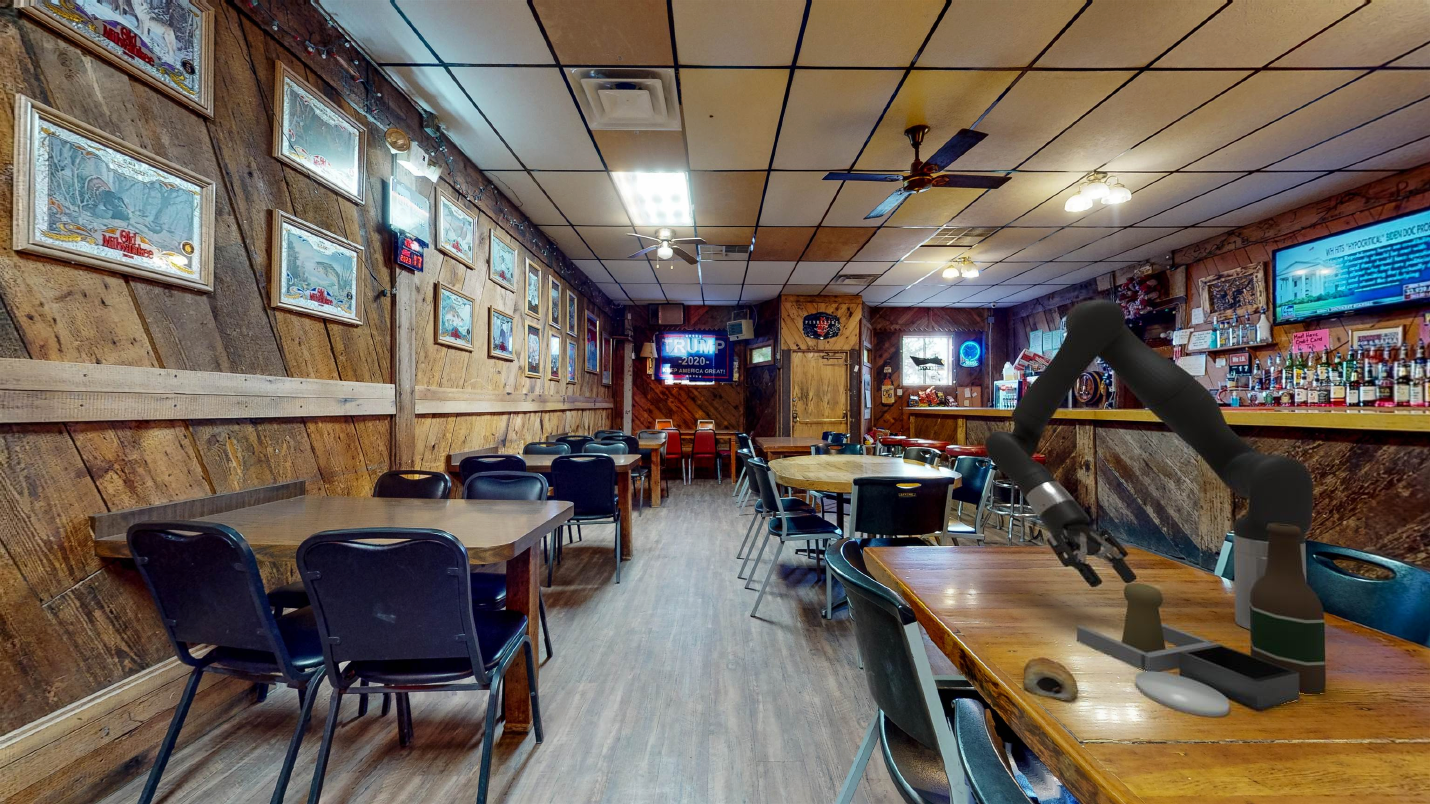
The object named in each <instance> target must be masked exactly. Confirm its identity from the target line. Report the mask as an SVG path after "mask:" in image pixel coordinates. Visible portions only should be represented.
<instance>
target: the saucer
mask: <svg viewBox="0 0 1430 804" xmlns="http://www.w3.org/2000/svg"><path fill="white" fill-rule="evenodd" d="M1136 686H1137V687H1136ZM1135 687H1136V689H1137V688H1138V689H1139V690H1140V691H1141V692H1142V693H1143V695H1144V694H1145V695H1146V696H1145V695H1144V696H1145V697H1147V696H1148V697H1149V699H1150V700H1152V701H1153V702H1156V703H1158V704H1160V705H1163V706H1165V707H1167V708H1169V709H1173V710H1176V711H1179V712H1182V713H1185V714H1186V713H1187V714H1191V715H1195V716H1200V717H1208V718H1218V717H1219V718H1221V717H1224V716H1227V715H1228V714H1229V713H1230V701H1229V699H1228V698H1226V697H1225V696H1224V695H1223V694H1221V693H1220V692H1218V691H1217V690H1215V689H1213V688H1211V687H1209V686H1207V685H1205V684H1203V683H1200V682H1198V681H1195V680H1192V679H1189V678H1186V677H1182V676H1180V675H1177V674H1174V673H1169V672H1163V671H1159V672H1154V671H1147V672H1146V671H1140V672H1139V673H1137V674H1136V675H1135ZM1138 689H1137V690H1138ZM1139 690H1138V691H1139ZM1140 691H1139V692H1140ZM1141 692H1140V693H1141ZM1142 693H1141V694H1142ZM1148 697H1147V698H1148Z"/></svg>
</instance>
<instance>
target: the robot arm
mask: <svg viewBox="0 0 1430 804" xmlns="http://www.w3.org/2000/svg"><path fill="white" fill-rule="evenodd" d="M1064 321H1065V322H1064V326H1065V330H1066V332H1067V333H1066V335H1065V337H1064V339H1063V341H1062V343H1061V345H1060V347H1059V349H1058V350H1057V352H1056V354H1055V355H1054V357H1053V358H1052V359H1051V361H1049V363H1048V364H1047V366H1045V368H1044V369H1043V371H1041V373H1040V374H1039V375H1038V376H1037V377H1036V378H1035V379H1034V381H1033V382H1032V383H1031V384H1030V385H1029V387H1028V388H1027V390H1026V391H1025V393H1024V394H1023V395H1022V396H1021V398H1020V399H1019V401H1018V403H1017V404H1016V406H1015V407H1014V409H1013V411H1012V413H1011V419H1012V421H1013V422H1014V423H1015V425H1014V428H1013V430H1012V432H1007V431H1002V430H1001V431H1000V430H999V431H996V432H992V433H991V434H990V435H988V437H986V440H985V444H984V449H985V452H986V455H987V456H988V458H989V460H990V461H991V462H992V463H993V464H994V465H995V466H996V467H997V469H999V470H1000V471H1001V472H1002V473H1003V474H1004V475H1005V476H1006V477H1007V478H1009V480H1010V481H1012V482H1013V483H1014V485H1015V486H1016V487H1017V489H1018V490H1019V492H1021V495H1023V497H1024V498H1025V499H1026V501H1027V503H1028V504H1029V506H1030V508H1031V509H1032V511H1033V512H1034V514H1035V515H1036V517H1038V519H1039V520H1040V522H1041V523H1042V524H1043V526H1044V527H1045V528H1046V530H1048V532H1049V534H1050V536H1049V537H1048V538H1047V539H1046V542H1047V544H1048V545H1049V547H1050V548H1051V549H1052V551H1053V553H1054V554H1055V555H1056V557H1057V558H1058V560H1059V561H1060V562H1061V565H1063V566H1064V567H1065V568H1068V567H1071V568H1073V569H1074V570H1076V571H1078V572H1079V574H1080V576H1082V578H1083V579H1084V581H1085V582H1086V583H1087V584H1088V585H1089V586H1090V588H1097V587H1099V586H1100V585H1102V584H1103V580H1102V579H1101V578H1100V576H1099V575H1098V574H1097V572H1096V571H1095V569H1094V568H1093V567H1092V565H1091V564H1090V563H1087V556H1090V557H1091V556H1094V557H1095V558H1096V559H1100V560H1101V559H1102V560H1104V561H1105V562H1107V563H1108V564H1110V565H1111V567H1112V568H1113V570H1114V571H1115V572H1116V573H1117V574H1118V576H1119V577H1120V578H1121V580H1122V581H1123V582H1124V583H1125V584H1131V583H1132V582H1133V583H1134V581H1136V580H1137V579H1138V578H1137V576H1136V574H1135V572H1134V571H1133V570H1132V569H1131V567H1129V565H1128V564H1127V563H1126V562H1125V560H1124V559H1125V558H1126V557H1127V556H1129V552H1128V551H1127V550H1126V549H1125V548H1124V547H1123V545H1121V543H1120V542H1119V541H1118V539H1116V537H1115V536H1113V534H1112V533H1111V532H1110V531H1109V530H1108V529H1106V528H1103V529H1101V530H1099V531H1097V530H1094V529H1093V528H1092V527H1091V526H1090V521H1091V518H1090V516H1089V515H1088V514H1087V513H1086V512H1085V511H1084V509H1083V508H1082V507H1081V505H1080V504H1079V503H1078V502H1077V501H1076V500H1075V498H1074V497H1073V496H1072V495H1071V494H1070V493H1069V492H1068V491H1069V490H1067V489H1066V488H1065V487H1064V486H1062V485H1061V483H1059V481H1058V480H1057V479H1056V478H1055V476H1054V475H1053V474H1052V473H1051V472H1050V470H1049V469H1048V468H1046V466H1044V465H1043V464H1042V463H1041V462H1038V461H1036V460H1034V459H1033V458H1034V455H1035V454H1036V452H1037V450H1038V448H1039V444H1040V443H1041V439H1042V436H1043V433H1044V430H1045V427H1046V426H1047V425H1048V424H1049V422H1050V421H1051V419H1053V416H1054V415H1055V414H1056V412H1057V411H1058V410H1059V408H1060V407H1061V405H1062V403H1063V402H1064V400H1065V399H1066V397H1067V396H1068V395H1069V394H1070V391H1071V390H1072V388H1073V387H1074V386H1075V384H1076V383H1077V381H1078V380H1079V379H1080V378H1081V376H1082V375H1083V373H1085V372H1086V370H1087V369H1088V368H1089V366H1090V365H1091V364H1092V363H1094V361H1095V360H1096V359H1097V358H1099V359H1100V360H1101V361H1102V362H1104V363H1105V364H1106V365H1107V366H1108V367H1109V368H1110V369H1111V370H1112V371H1113V372H1114V373H1115V375H1116V376H1117V377H1118V378H1119V379H1120V380H1121V382H1122V383H1123V384H1124V385H1125V386H1126V387H1127V388H1128V389H1129V390H1130V392H1131V393H1133V395H1134V396H1135V397H1136V398H1137V399H1138V400H1139V401H1140V402H1141V403H1142V404H1143V405H1144V406H1145V407H1146V408H1147V409H1148V410H1149V411H1150V412H1151V413H1153V414H1154V416H1155V417H1157V418H1158V419H1159V420H1160V421H1161V422H1162V423H1164V424H1165V425H1166V426H1167V427H1168V428H1169V429H1170V430H1172V432H1174V433H1175V434H1176V435H1177V436H1178V437H1179V438H1180V439H1181V440H1182V441H1184V442H1185V443H1186V444H1187V445H1188V446H1190V447H1191V448H1192V449H1193V450H1194V451H1195V452H1196V453H1197V454H1198V455H1199V456H1200V457H1201V458H1202V459H1203V461H1204V462H1205V463H1206V464H1207V466H1209V467H1210V469H1212V471H1213V472H1214V474H1215V475H1216V476H1217V477H1218V478H1219V480H1221V482H1222V483H1223V484H1224V485H1225V486H1226V487H1227V488H1228V489H1229V490H1230V491H1232V492H1233V493H1234V494H1236V495H1238V496H1240V497H1242V498H1245V499H1248V508H1247V509H1248V510H1247V513H1246V514H1245V516H1244V517H1241V518H1237V519H1235V520H1234V522H1233V551H1234V552H1233V554H1234V555H1233V559H1234V560H1233V561H1234V562H1233V563H1234V565H1233V566H1234V567H1233V568H1234V570H1233V571H1234V618H1235V619H1234V620H1235V623H1236V624H1237V625H1239V626H1241V627H1243V628H1245V629H1247V630H1249V631H1250V593H1251V589H1252V587H1253V585H1254V584H1255V582H1256V581H1257V580H1258V579H1259V578H1260V577H1261V576H1263V575H1264V574H1265V570H1266V566H1267V555H1268V540H1269V531H1267V530H1266V528H1267V526H1268V524H1271V523H1279V524H1288V525H1294V526H1297V527H1299V528H1300V530H1301V532H1302V535H1301V536H1299V538H1300V547H1301V557H1302V566H1303V573H1304V576H1305V580H1306V581H1307V558H1306V556H1307V555H1306V553H1307V552H1306V535H1307V533H1309V531H1310V528H1311V526H1312V522H1313V509H1314V508H1313V507H1314V482H1313V477H1312V475H1311V472H1310V470H1309V468H1308V467H1307V466H1306V465H1305V464H1304V463H1303V462H1301V461H1299V460H1298V459H1295V458H1293V457H1289V456H1285V455H1278V454H1276V455H1275V454H1267V453H1262V452H1259V451H1258V450H1256V449H1255V448H1254V447H1252V446H1251V445H1250V444H1249V443H1247V442H1246V441H1245V440H1243V438H1241V437H1240V436H1239V435H1238V434H1237V433H1235V432H1234V431H1233V429H1232V428H1231V427H1230V426H1229V425H1228V423H1227V421H1226V419H1225V417H1224V414H1223V411H1222V409H1221V407H1220V405H1219V403H1218V401H1217V399H1216V398H1215V396H1214V395H1213V394H1212V393H1211V392H1210V391H1209V390H1208V389H1207V388H1206V387H1205V386H1204V385H1202V383H1200V381H1198V380H1197V379H1196V378H1195V377H1194V376H1193V375H1192V374H1190V373H1189V372H1188V371H1187V370H1185V369H1184V368H1183V367H1182V366H1179V364H1177V363H1176V362H1174V361H1173V360H1171V359H1169V358H1168V357H1166V356H1165V355H1163V354H1161V353H1160V352H1158V351H1156V350H1155V349H1153V348H1151V347H1150V346H1149V345H1147V344H1146V343H1144V342H1143V341H1142V340H1141V339H1140V338H1139V337H1138V336H1136V334H1135V333H1134V332H1133V331H1132V330H1131V329H1130V328H1129V327H1128V326H1127V325H1126V314H1125V312H1124V310H1123V308H1122V307H1121V306H1120V305H1119V304H1118V303H1116V302H1114V301H1112V300H1108V299H1092V300H1086V301H1082V302H1080V303H1077V304H1076V305H1074V306H1073V307H1072V308H1071V309H1070V310H1069V311H1068V313H1067V315H1066V317H1065V320H1064ZM1114 548H1115V549H1116V550H1115V549H1114ZM1064 553H1065V555H1066V556H1067V557H1066V556H1065V555H1064ZM1108 554H1109V555H1110V556H1109V555H1108Z"/></svg>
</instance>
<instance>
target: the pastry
mask: <svg viewBox="0 0 1430 804" xmlns="http://www.w3.org/2000/svg"><path fill="white" fill-rule="evenodd" d="M1023 678H1024V679H1023V680H1024V681H1023V684H1024V687H1025V688H1026V690H1027V689H1028V690H1029V691H1028V690H1027V691H1028V692H1030V693H1033V692H1034V694H1035V693H1036V694H1035V695H1038V694H1039V695H1038V696H1041V695H1043V696H1042V697H1046V696H1047V697H1046V698H1053V697H1054V698H1053V699H1057V698H1058V699H1057V700H1061V699H1063V701H1070V700H1069V699H1072V700H1074V699H1075V698H1076V697H1077V695H1078V694H1079V689H1078V684H1077V681H1076V679H1075V677H1074V675H1073V674H1072V673H1071V671H1069V670H1068V669H1067V668H1066V667H1065V666H1064V664H1062V663H1060V662H1057V661H1054V660H1051V659H1049V658H1048V657H1038V658H1031V659H1030V660H1029V661H1028V662H1027V663H1026V664H1025V666H1024V668H1023ZM1073 698H1074V699H1073Z"/></svg>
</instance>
